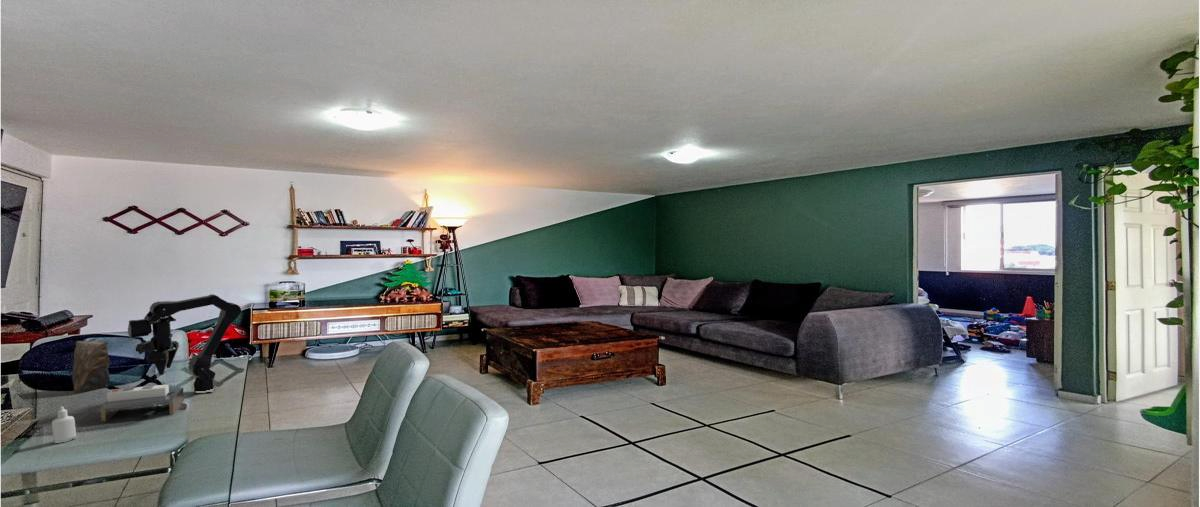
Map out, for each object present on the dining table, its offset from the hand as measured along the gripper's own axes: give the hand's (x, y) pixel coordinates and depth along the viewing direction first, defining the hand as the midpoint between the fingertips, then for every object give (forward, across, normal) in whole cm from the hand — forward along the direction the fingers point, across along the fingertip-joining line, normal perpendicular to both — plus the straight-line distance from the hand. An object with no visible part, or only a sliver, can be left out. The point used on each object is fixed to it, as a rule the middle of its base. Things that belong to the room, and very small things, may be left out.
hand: (164, 371), depth 236 cm
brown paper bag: (+12, -26, -35) cm, 45 cm away
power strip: (+9, +12, -6) cm, 16 cm away
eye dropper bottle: (+12, +34, -20) cm, 41 cm away
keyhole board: (+12, +12, -4) cm, 17 cm away
